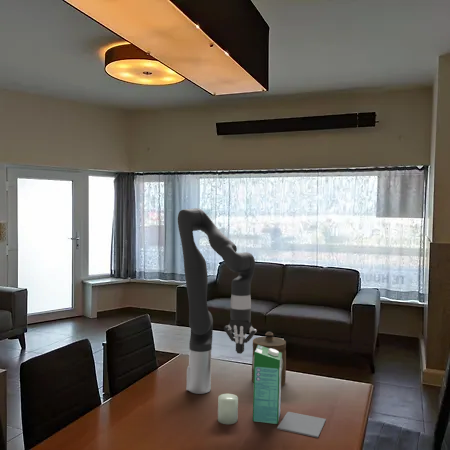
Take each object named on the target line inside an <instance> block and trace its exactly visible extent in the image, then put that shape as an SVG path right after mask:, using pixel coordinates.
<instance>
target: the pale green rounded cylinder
mask: <svg viewBox="0 0 450 450" xmlns="http://www.w3.org/2000/svg"><path fill="white" fill-rule="evenodd" d="M217 398H218V399H217V400H218V402H217V404H218V405H217V421H218V423H220V424H223V425H234V424H236V423H237V422H238V415H239V414H238V410H239V408H238V407H239V397H238V396H237V395H236V394H233V393H222V394H220V395H218V397H217Z"/></svg>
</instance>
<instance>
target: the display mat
mask: <svg viewBox="0 0 450 450" xmlns="http://www.w3.org/2000/svg"><path fill="white" fill-rule="evenodd" d="M326 421H327V418H323V417H318V416H313V415H307V414H302V413H297V412H292V411H287V412H286V414H285V415H284V417H283V418H282V420H281V421H280V423H278V426H277V427H276V429H277V430H280V431H285V432H289V433H293V434H298V435H303V436H308V437H312V438H316V439H319V436H320V434H321V432H322V430H323V428H324V425H325V423H326Z"/></svg>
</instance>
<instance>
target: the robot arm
mask: <svg viewBox="0 0 450 450" xmlns="http://www.w3.org/2000/svg"><path fill="white" fill-rule="evenodd" d="M177 214H178V215H177V227H178V233H179V237H180V238H179V239H180V242H181V243H180V244H181V249H182V257H183V265H184V266H183V268H184V279H185V285H186V291H187V297H188V309H189V310H188V325H189V326H188V327H189V328H190V335H189V337H190V338H189V347H188V349H189V351H188V352H189V355H188V366H187V367H186V389H185V390H186V391H189V392H190V393H192V394H196V395H198V394H199V395H200V394H201V395H202V394H203V395H204V394H207V393H209V392H210V391H211V385H212V350H213V349H212V348H213V347H212V346H213V332H214V331H213V330H214V329H213V328H214V319H213V314H212V313H211V311H209V307H208V300H207V299H208V298H207V297H208V267H207V265H208V264H207V262H206V259H205V257H204V256H203V254H202V253H201V251H200V250H199V248H198V247H197V244H196V241H195V238H194V232H195V231H200V232H202V233H204V234H206V236H207V238H208V243H209V246H210V247H211V249H212V250H214V251H215V253H216V254H218V256H220V257H221V258H222V261H223V262H224V264H225V266H226V267H227V268H228V270H230V271H232V272H233V273H238V276H237V277H235V278H234V279H232V281H231V292H230V293H231V297H230V320H229V323H228V324H227V325H225V326H224V327H223V330H224V332H225V334H226V335H227V336H228V338H229V339H230V341H231V342H234V343H235V352H236V354H243V352H245V344H247V343H248V342H249V341H250V340H251V339H252V338H253V336H255V334H256V333H257V331H258V330H257V329H256V328H254V327H253V324H252V321H251V319H252V315H251V314H252V313H251V312H252V311H251V310H252V308H251V307H252V299H251V298H252V297H251V284H252V281H253V280H252V279H253V277H254V272H255V268H256V259H255V257H254V255H253V254H252V253H250V252H249V251H248V252H247V251H246V252H237V250H238V249H237V248H238V247H237V246H236V244H235V243H234V242H233V241H232V240H231V239H229V238H228V237H227V236H226V235H225V234H224V233H223V232H222V231H221V230H220V229H219V228H218V227H217V225H216V224H215V223H214V222H213V220H212V219H211V218H210V217H209V215H208V214H207V213H206V212H205V211H204V210H203V209H202V208H196V207H195V208H184V209H181V210H180V211H179V212H178V213H177ZM248 332H249V334H248V335H247V333H248Z"/></svg>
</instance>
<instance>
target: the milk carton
mask: <svg viewBox="0 0 450 450" xmlns="http://www.w3.org/2000/svg"><path fill="white" fill-rule="evenodd" d="M281 366H282V353H281V352H279V351H277V350H275V349H272V348H266V347H263V346H260V345H258V346H257V348H256V350H255V352H254V383H253V393H252V394H253V396H252V397H253V399H252V421H253V422H257V423H264V424H265V423H266V424H274V425H279V421H280V417H281V401H282V400H281V398H282V397H281V395H282V386H281Z"/></svg>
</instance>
